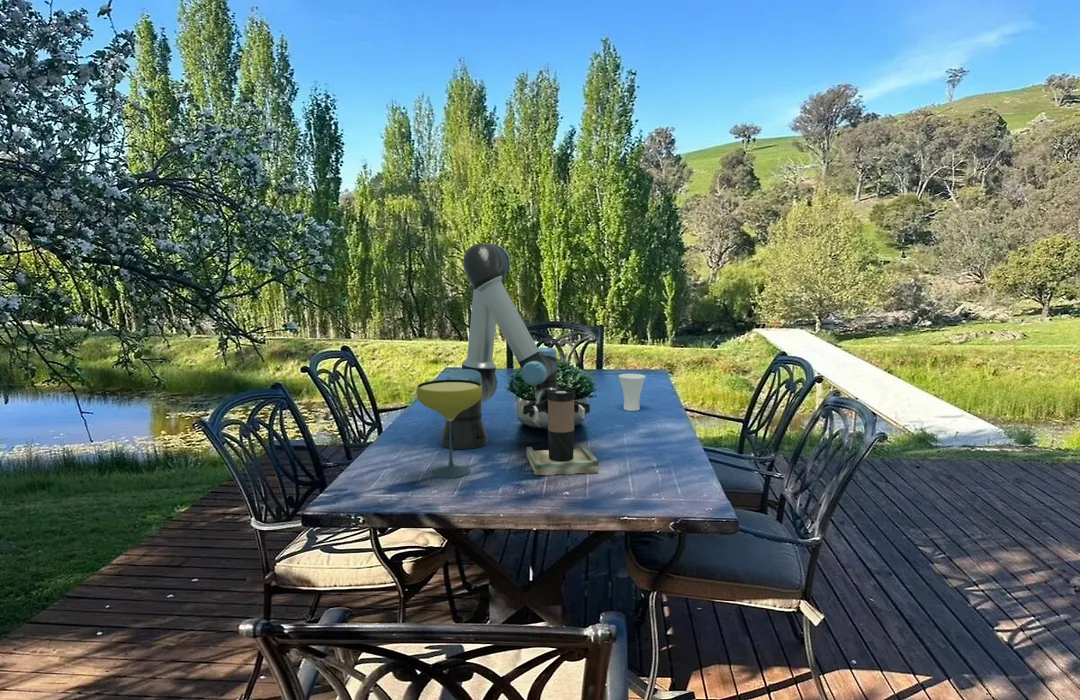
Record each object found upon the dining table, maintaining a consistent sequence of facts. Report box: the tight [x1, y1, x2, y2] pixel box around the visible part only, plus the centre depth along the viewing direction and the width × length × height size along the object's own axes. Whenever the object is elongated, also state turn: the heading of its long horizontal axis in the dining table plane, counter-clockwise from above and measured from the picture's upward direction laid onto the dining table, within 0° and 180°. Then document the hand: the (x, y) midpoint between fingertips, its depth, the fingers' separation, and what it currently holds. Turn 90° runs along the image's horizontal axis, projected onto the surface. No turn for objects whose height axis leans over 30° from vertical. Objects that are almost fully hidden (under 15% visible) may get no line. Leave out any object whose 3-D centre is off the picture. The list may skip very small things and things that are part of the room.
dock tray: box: [526, 444, 600, 476], centre depth 201 cm, size 18×18×3 cm
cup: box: [618, 373, 646, 412], centre depth 273 cm, size 10×10×14 cm
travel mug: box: [547, 387, 575, 462], centre depth 199 cm, size 8×8×20 cm
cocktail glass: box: [416, 379, 482, 479], centre depth 193 cm, size 18×18×25 cm
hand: (560, 414), depth 199 cm, fingers open, 13 cm apart
